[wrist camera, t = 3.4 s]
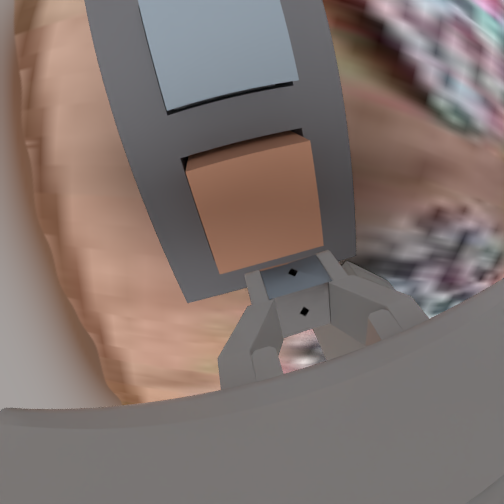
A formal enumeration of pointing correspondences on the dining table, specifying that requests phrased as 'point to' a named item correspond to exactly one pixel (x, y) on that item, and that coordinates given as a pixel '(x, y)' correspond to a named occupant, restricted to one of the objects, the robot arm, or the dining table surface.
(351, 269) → the supplement box
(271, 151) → the terracotta key
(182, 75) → the slate key
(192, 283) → the key console
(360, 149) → the dining table surface
